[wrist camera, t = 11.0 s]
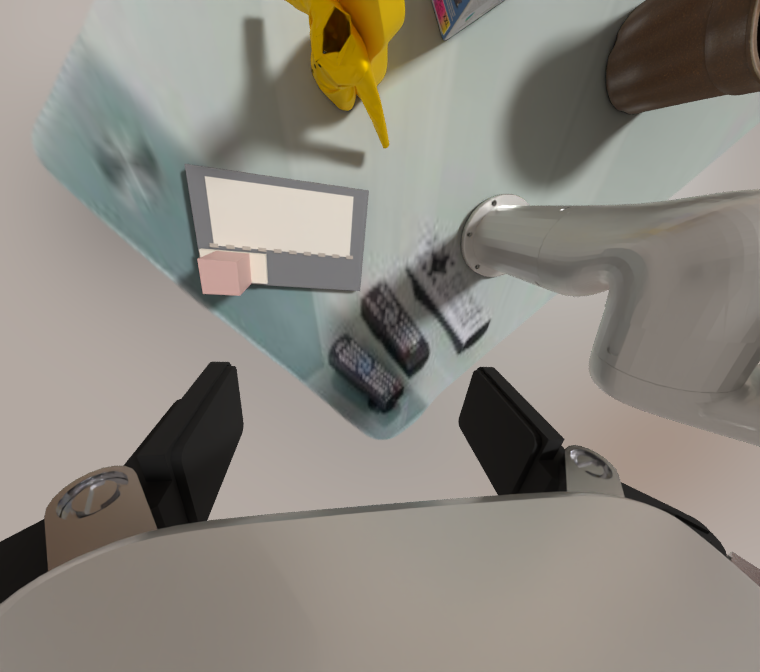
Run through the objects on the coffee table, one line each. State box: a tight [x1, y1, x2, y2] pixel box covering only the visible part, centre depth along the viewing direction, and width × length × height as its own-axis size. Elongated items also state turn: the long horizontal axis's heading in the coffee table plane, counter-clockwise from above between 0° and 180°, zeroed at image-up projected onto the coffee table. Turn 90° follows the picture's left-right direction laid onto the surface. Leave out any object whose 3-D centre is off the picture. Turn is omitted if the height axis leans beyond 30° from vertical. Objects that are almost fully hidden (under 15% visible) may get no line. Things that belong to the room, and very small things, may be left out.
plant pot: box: [606, 0, 760, 114], centre depth 30 cm, size 16×16×16 cm
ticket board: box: [185, 164, 369, 291], centre depth 37 cm, size 22×14×2 cm, turn 83°
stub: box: [197, 248, 268, 296], centre depth 34 cm, size 8×4×7 cm, turn 83°
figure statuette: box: [285, 0, 405, 148], centre depth 22 cm, size 18×8×22 cm, turn 43°
